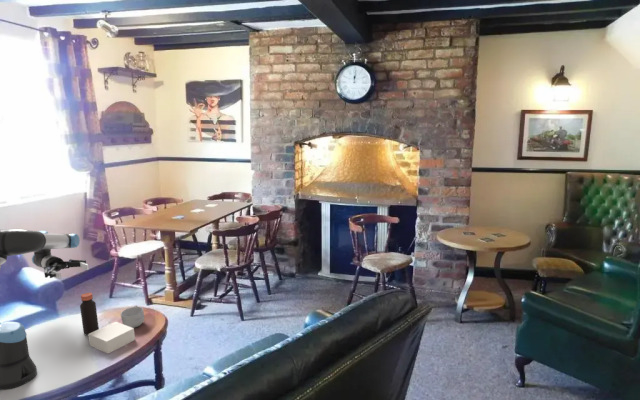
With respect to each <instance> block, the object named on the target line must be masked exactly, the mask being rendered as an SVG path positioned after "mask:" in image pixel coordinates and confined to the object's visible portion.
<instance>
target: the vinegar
mask: <svg viewBox="0 0 640 400" xmlns="http://www.w3.org/2000/svg"><path fill="white" fill-rule="evenodd" d="M93 297H94V296H93V293H92V292H85V293H82V294H81V295H80V298H81V299H80V300H81V303H80V305H79V307H80V316H81V323H82V331H83V335H85V336H89V335H88V334H89V333H92V332H94V331H96V330H98V329H100V327H99V319H98V311H97V304H96V302H95V301H94V300H93Z"/></svg>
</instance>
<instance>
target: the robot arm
mask: <svg viewBox="0 0 640 400" xmlns="http://www.w3.org/2000/svg"><path fill="white" fill-rule="evenodd" d="M79 245H80V236H79V234H77V233H66V234H65V233H49V232H48V231H47V230H38V231H37V230H29V229H23V228H21V229H20V228H11V229H7V228H6V229H0V270H1V268H2V265H4V264H5V263H6V262H7V259H8V257H11V256H13V257H14V256H19V255H25V254H30V253H33V255H32V257H31V261H32V264H34V265H35V266H36V267H39V268H42V269H43V272H44V278H48V277H49V279H52V278H56V279H59V280H61V279H62V274H61V272H60V271H61V270H64V269H70V268H81V269H84V270H85V271H86V270H87V271H88V270H90V267H89V264H88V263H87V260H86V259H71V258H70V259H68V261H66V260H65V261H64V260H63V258H61V257H57V256H56V255H52V252H51V251H52V250H53V249H75V248H78V247H79ZM37 368H38V367H37V366H36V364H35V362H34V361H33V359H32V358H31V356H30V350H29V345H28V338H27V332H26V329H25V326H24V325H23V323H21V322H18V321H3V322H0V390H8V389H9V390H10V389H13V388H17V387H20V386H22V385H24V384H27V383H28V382H30V381H31V380H33V379H34V378H36V376H37V374H38V369H37Z"/></svg>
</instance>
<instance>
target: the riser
mask: <svg viewBox="0 0 640 400" xmlns="http://www.w3.org/2000/svg"><path fill="white" fill-rule="evenodd" d="M87 336H88V343H89V347H92V348H94V349H96V350H99V351H101V352H103V353H105V354H110V353H112V352H114V351H116V350H118V349H120V348H123V347H124V346H127V345H128V344H130V343H132V342H133V341H136V336H135V328H132V327H129V326H126V325H124V324H123V323H121V322H118V321H114V322H112V323H109V324H107V325H104V326H103V327H99V329H98V330H96V331H94V332H92V333H89V334H88V335H87Z"/></svg>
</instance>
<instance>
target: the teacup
mask: <svg viewBox="0 0 640 400" xmlns="http://www.w3.org/2000/svg"><path fill="white" fill-rule="evenodd" d="M120 318H121V321H122V323H121V324H124V325H126V326H129V327H132V328H134V329H135V328H138V327H140V326H141V325H142V324H143V323H144V321H145V311H144V308H143V307H142V306H138V305H134V306H132V307H128V308H126V309H124V310H122V311H121V312H120Z"/></svg>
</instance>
